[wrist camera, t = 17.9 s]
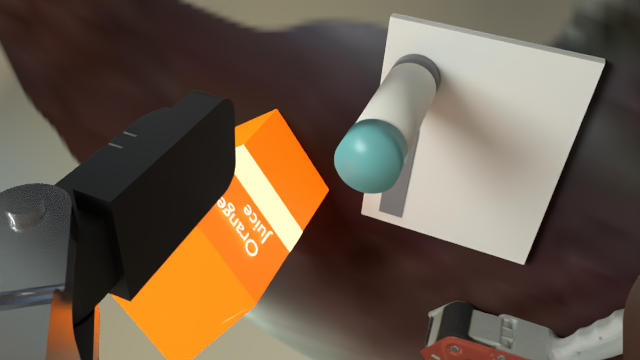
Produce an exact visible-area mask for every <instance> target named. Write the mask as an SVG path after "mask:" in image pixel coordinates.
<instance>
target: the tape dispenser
mask: <svg viewBox="0 0 640 360" xmlns="http://www.w3.org/2000/svg"><path fill="white" fill-rule="evenodd" d="M624 309H625V308H624ZM624 309H620V310H616V311H614V312H613V313H612V314H611V315H610V316H608V317H607V318H604V319H600V320H597V321H596V322H594V323H593V324H592V325H590V326H588V327H584V328H580V329H578V330H577V331H576V332H575V333H574V334H572V335H570V336H569V337H566V338H559V337H558V336H557V335H556V334H555V333H554V332H553V331H552V330H550V329H549V328H546V327H543V326H540V325H537V324H534V323H531V322H528V321H525V320H522V319H519V318H516V317H513V316H510V315H506V314H502V315H499V316H494V315H491V314H487V313H483V312H481V311H478V310H476V309H475V308H474V307H473V306H472V305H471V304H469V303H467V302H464V301H453V302H451V303H449V304H447V305H444V306H442V307H440V308H438V309H435V310H433V311H431V312H429V314H428V316H429V317H430V320H429V326H428V330H427V334H426V338H425V346H426V348H425V349H423V350H421V351H420V353H421V354H422V356H423V357H424V358H425V359H426V360H603V359H607V358H611V357H614V356H617V355H620V354H623V314H624Z"/></svg>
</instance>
